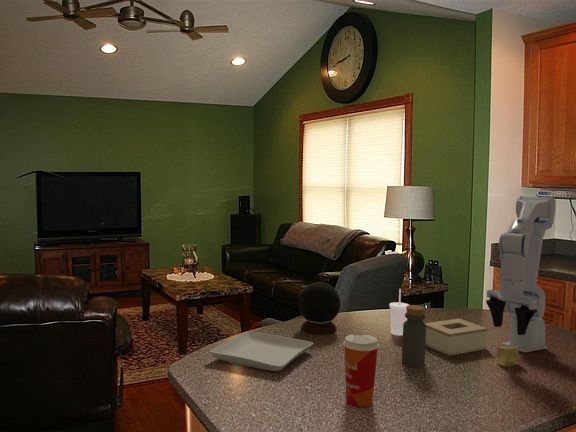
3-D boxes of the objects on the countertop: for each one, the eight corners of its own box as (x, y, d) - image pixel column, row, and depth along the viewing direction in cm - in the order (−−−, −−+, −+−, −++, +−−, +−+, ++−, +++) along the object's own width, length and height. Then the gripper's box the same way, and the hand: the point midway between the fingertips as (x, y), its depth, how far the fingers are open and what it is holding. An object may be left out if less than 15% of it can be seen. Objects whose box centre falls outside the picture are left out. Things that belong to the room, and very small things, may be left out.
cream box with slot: (458, 337, 162) (459, 318, 162) (486, 349, 152) (487, 328, 152) (422, 343, 156) (422, 323, 155) (448, 355, 146) (449, 334, 146)
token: (510, 361, 143) (511, 344, 143) (518, 364, 141) (519, 347, 140) (496, 363, 141) (497, 346, 140) (504, 367, 138) (505, 349, 138)
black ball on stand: (289, 330, 166) (290, 283, 165) (310, 321, 177) (311, 276, 176) (327, 338, 159) (328, 288, 158) (346, 328, 170) (348, 281, 169)
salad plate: (314, 352, 148) (315, 340, 147) (281, 379, 129) (281, 365, 128) (247, 341, 157) (247, 329, 156) (207, 364, 137) (207, 351, 137)
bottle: (425, 368, 136) (427, 310, 135) (401, 366, 137) (403, 309, 136) (424, 360, 142) (426, 305, 141) (401, 358, 143) (403, 303, 142)
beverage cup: (411, 332, 167) (413, 288, 166) (404, 337, 162) (406, 291, 160) (392, 329, 170) (394, 285, 169) (385, 333, 165) (386, 289, 164)
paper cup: (338, 394, 119) (340, 333, 118) (372, 394, 120) (374, 333, 119) (345, 410, 111) (347, 344, 110) (381, 409, 112) (383, 344, 111)
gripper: (479, 274, 143) (476, 324, 145) (524, 285, 131) (521, 340, 132) (498, 273, 147) (495, 321, 148) (544, 283, 134) (541, 336, 135)
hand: (509, 330), depth 140 cm, fingers open, 7 cm apart
